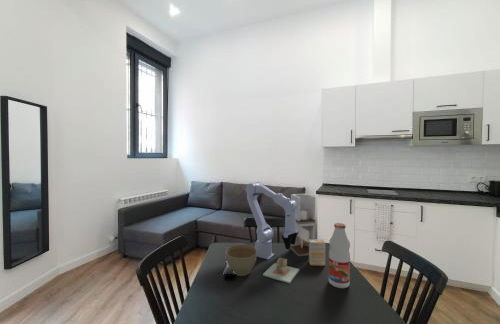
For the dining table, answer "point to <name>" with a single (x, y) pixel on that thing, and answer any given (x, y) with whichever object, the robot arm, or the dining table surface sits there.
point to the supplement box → (316, 252)
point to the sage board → (285, 277)
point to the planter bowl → (241, 259)
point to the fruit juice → (339, 257)
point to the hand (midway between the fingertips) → (290, 246)
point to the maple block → (281, 265)
